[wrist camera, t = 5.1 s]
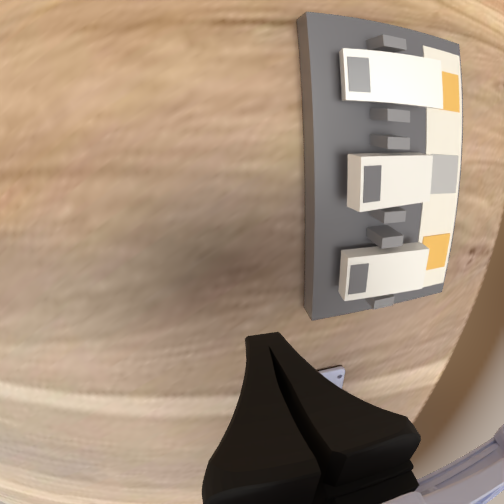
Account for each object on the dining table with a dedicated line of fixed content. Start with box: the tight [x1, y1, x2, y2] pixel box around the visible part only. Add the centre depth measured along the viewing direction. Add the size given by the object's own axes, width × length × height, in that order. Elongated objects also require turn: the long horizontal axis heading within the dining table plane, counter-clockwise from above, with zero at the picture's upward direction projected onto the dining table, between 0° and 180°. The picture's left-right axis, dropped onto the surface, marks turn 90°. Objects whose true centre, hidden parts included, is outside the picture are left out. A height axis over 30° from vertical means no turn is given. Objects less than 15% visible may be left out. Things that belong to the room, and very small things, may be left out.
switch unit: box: [297, 12, 463, 320], centre depth 19 cm, size 20×12×4 cm, turn 3°
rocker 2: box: [347, 153, 433, 212], centre depth 17 cm, size 3×6×1 cm, turn 93°
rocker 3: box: [338, 242, 429, 301], centre depth 20 cm, size 3×6×1 cm, turn 93°
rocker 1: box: [339, 48, 443, 109], centre depth 15 cm, size 3×6×1 cm, turn 93°
